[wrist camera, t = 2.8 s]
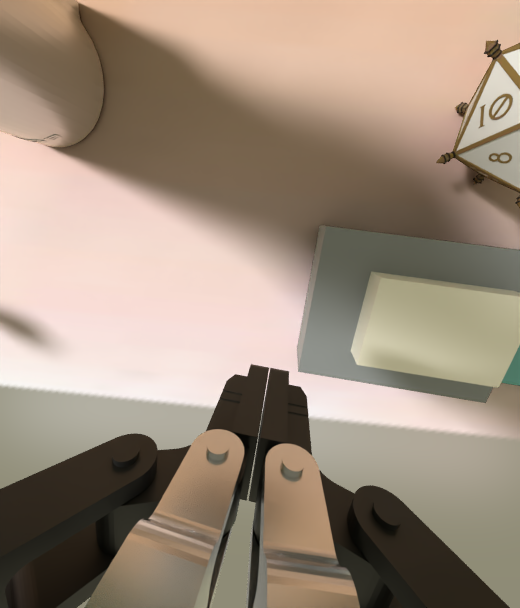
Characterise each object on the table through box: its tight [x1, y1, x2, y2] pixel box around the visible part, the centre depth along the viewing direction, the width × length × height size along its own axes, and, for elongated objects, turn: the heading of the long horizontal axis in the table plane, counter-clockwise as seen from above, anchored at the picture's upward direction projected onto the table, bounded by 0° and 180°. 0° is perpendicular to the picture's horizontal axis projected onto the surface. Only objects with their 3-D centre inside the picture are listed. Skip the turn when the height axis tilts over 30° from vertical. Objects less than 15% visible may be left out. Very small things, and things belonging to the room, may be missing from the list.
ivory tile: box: [351, 272, 520, 388], centre depth 17 cm, size 6×9×2 cm, turn 83°
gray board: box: [297, 225, 520, 403], centre depth 20 cm, size 11×14×4 cm
